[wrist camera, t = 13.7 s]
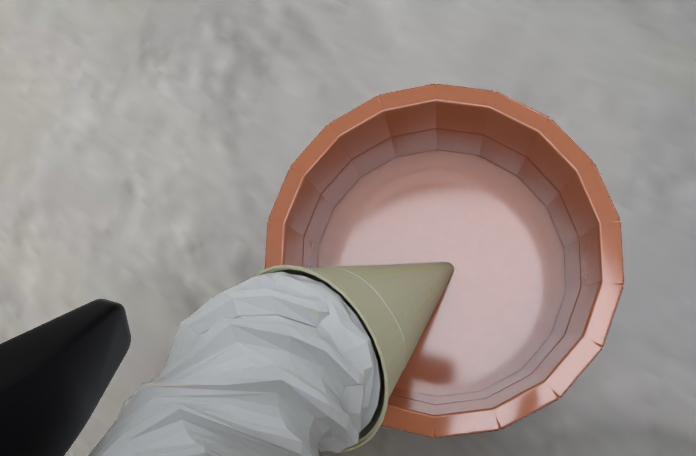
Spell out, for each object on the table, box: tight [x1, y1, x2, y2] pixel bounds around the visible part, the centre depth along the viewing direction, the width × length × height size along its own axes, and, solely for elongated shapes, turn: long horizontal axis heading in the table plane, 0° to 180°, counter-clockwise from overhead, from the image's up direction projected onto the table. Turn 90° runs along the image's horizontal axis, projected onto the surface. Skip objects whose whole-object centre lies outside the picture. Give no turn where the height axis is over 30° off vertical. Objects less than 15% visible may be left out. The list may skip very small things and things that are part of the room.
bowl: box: [265, 84, 624, 438], centre depth 19 cm, size 10×10×5 cm
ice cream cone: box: [88, 262, 454, 456], centre depth 15 cm, size 5×5×15 cm
